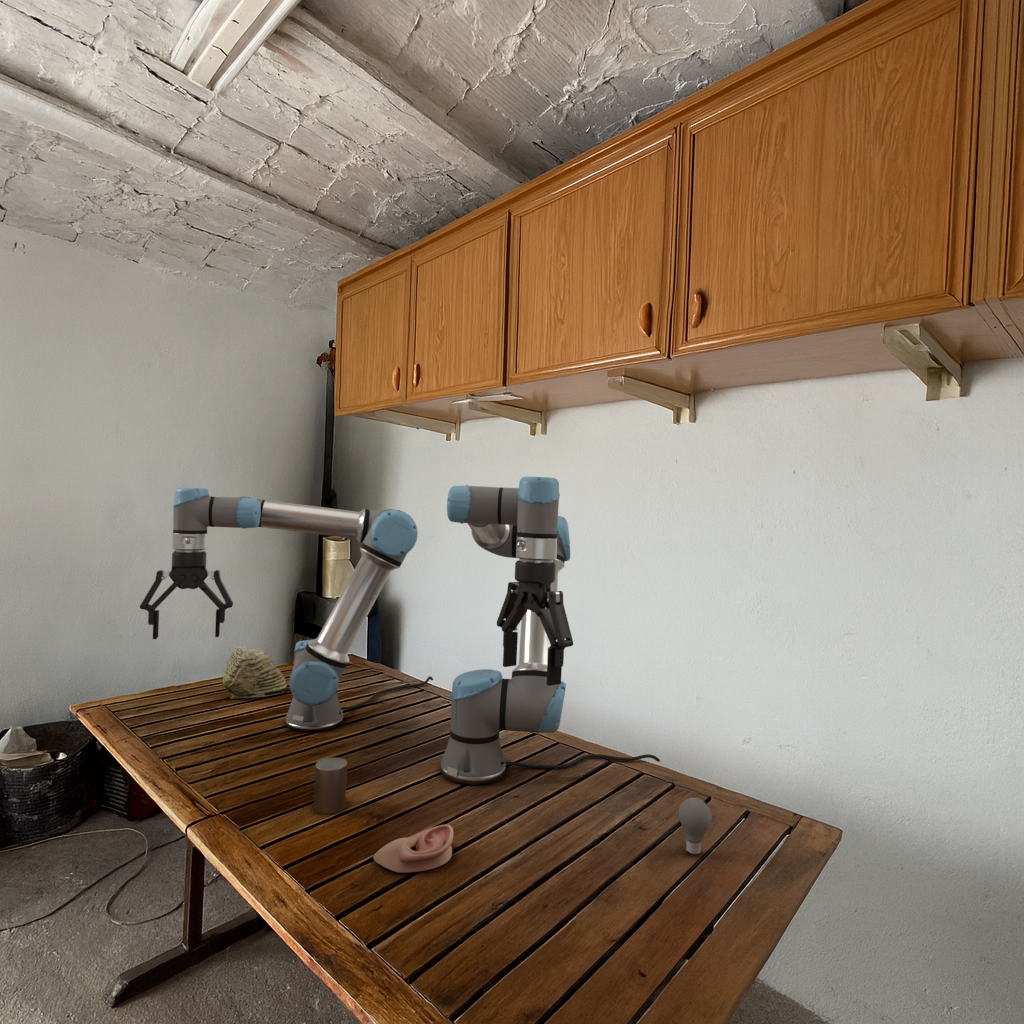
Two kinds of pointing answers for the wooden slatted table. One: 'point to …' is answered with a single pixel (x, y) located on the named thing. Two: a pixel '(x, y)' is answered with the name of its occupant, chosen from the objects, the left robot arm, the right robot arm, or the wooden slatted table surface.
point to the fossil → (252, 674)
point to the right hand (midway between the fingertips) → (530, 674)
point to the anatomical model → (417, 851)
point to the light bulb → (694, 822)
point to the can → (330, 785)
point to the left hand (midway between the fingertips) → (186, 637)
